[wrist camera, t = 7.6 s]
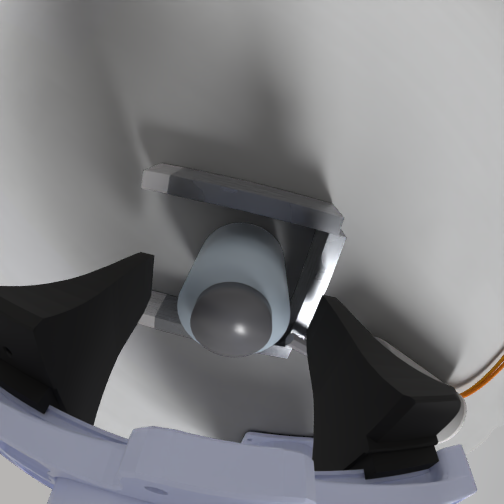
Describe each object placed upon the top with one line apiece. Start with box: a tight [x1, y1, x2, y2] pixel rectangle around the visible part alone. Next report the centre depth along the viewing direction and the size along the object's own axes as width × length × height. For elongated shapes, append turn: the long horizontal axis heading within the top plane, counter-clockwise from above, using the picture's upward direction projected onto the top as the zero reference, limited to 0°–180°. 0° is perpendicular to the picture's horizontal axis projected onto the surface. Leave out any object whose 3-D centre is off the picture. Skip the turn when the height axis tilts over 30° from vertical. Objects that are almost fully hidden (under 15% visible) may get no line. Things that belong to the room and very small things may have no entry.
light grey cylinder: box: [177, 223, 290, 357], centre depth 13 cm, size 4×4×5 cm
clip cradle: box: [138, 163, 347, 359], centre depth 14 cm, size 8×9×2 cm
